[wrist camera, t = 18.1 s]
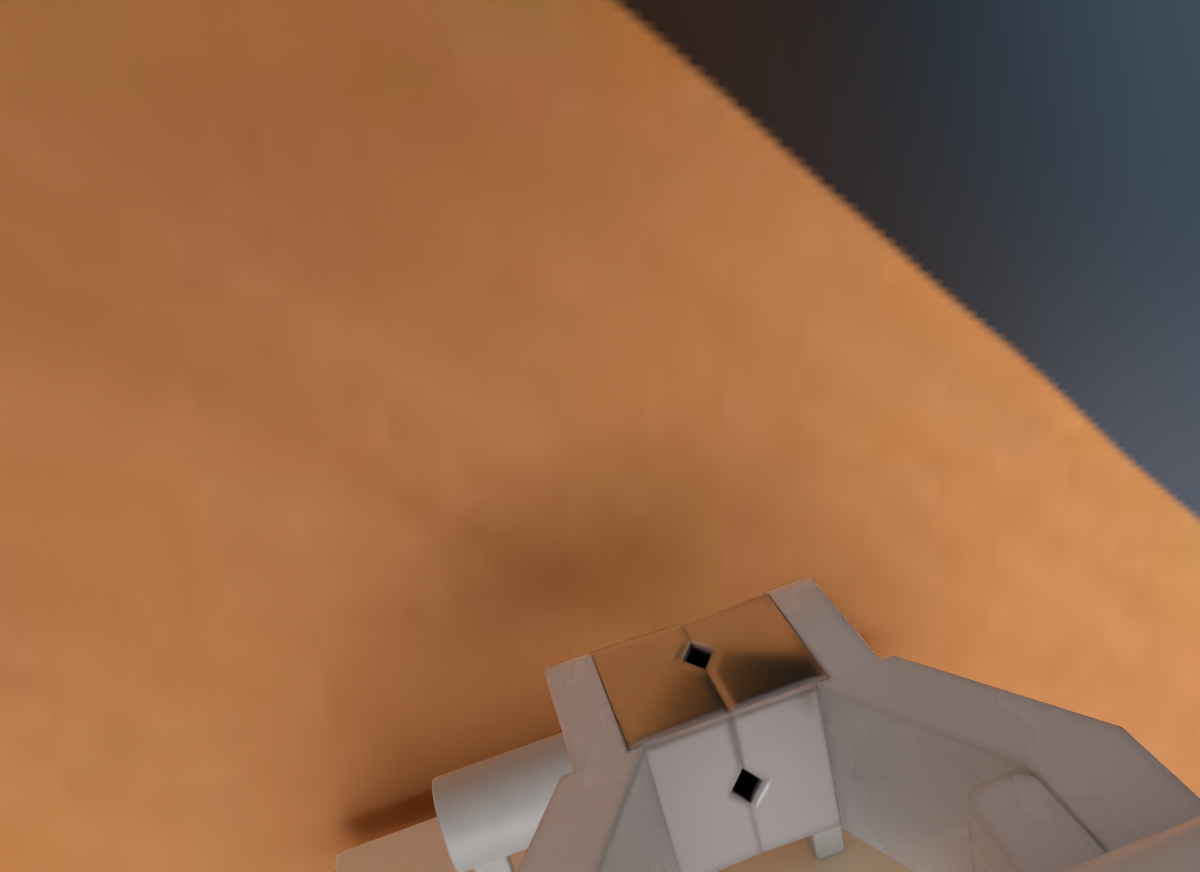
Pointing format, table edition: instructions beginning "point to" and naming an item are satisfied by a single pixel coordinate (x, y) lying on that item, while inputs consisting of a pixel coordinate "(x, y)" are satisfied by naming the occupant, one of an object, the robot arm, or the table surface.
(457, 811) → the drawer
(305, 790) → the table surface
